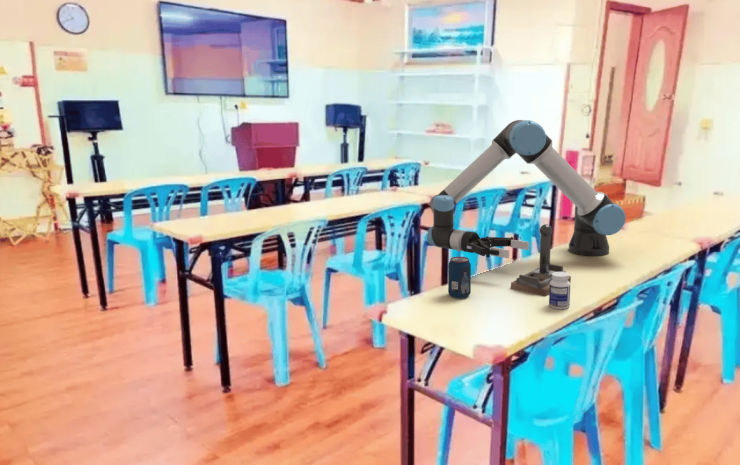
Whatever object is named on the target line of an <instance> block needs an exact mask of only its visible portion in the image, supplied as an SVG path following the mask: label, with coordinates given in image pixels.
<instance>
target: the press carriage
mask: <svg viewBox="0 0 740 465" xmlns="http://www.w3.org/2000/svg"><path fill="white" fill-rule="evenodd" d="M552 234H553V227H552V226H551V225H550V224H547V223H546V224H542V225H541V226H540V228H539V235H540V242H539V243H540V244H539V245H540V247H539V266H538V268H539V269H538V268H537V269H538V270H536V271H534V272H533V277H536V278H539V279H541V280H546V279H547V278H549V277H551V276H552V273H553V272H556V271H550V264H551V249H552V248H551V247H552V246H551V245H552V243H551V242H552V240H551V239H552Z"/></svg>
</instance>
